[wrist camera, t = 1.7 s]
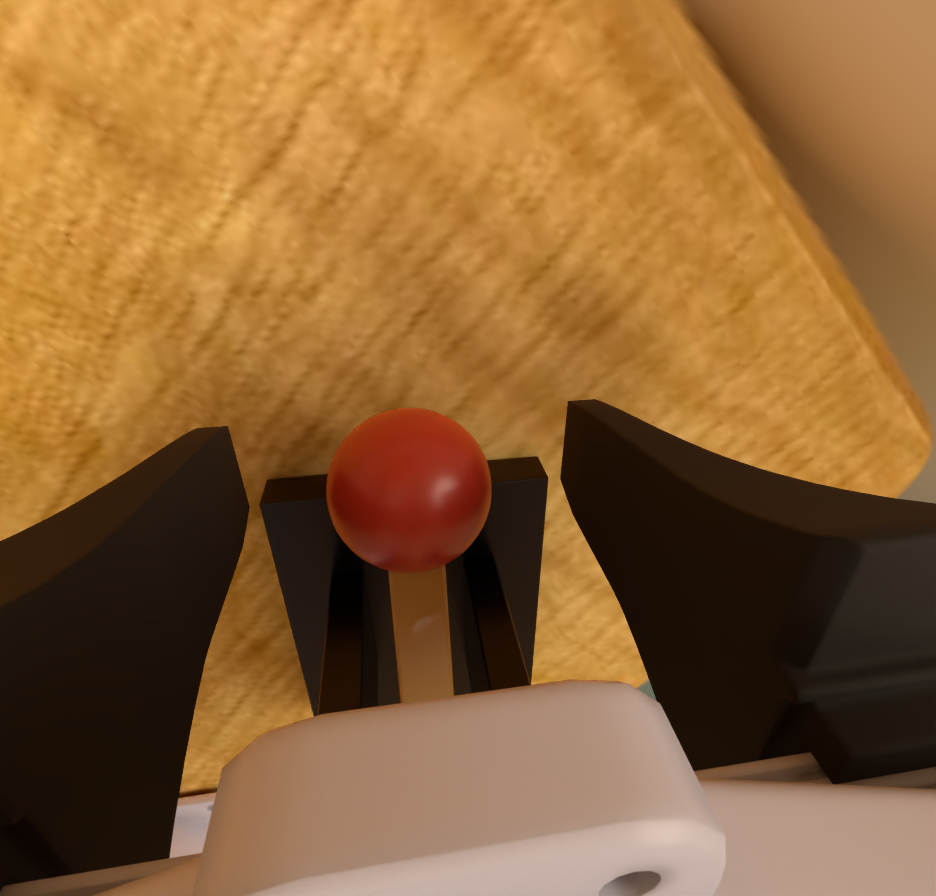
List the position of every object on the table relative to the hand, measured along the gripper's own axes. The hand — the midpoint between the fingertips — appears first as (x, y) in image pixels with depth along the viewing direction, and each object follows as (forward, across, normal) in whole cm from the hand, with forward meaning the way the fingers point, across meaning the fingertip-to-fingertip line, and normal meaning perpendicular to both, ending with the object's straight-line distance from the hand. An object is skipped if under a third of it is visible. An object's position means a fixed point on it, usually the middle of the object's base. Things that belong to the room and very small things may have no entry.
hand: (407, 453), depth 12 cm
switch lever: (-1, 0, +4) cm, 4 cm away
